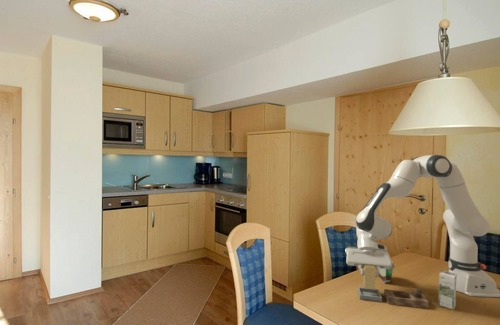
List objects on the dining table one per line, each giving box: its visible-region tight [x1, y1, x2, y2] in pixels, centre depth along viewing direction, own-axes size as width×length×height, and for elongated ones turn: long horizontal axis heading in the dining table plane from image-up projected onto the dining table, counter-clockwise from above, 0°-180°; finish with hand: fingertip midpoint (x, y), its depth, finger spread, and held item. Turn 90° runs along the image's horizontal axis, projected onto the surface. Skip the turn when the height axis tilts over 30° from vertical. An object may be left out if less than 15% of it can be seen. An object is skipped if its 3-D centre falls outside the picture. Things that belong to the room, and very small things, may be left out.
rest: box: [357, 286, 383, 303], centre depth 135 cm, size 9×8×2 cm
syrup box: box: [438, 270, 457, 311], centre depth 127 cm, size 6×6×14 cm
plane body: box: [383, 288, 429, 310], centre depth 130 cm, size 16×8×6 cm, turn 76°
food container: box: [377, 261, 395, 284], centre depth 153 cm, size 12×6×10 cm, turn 179°
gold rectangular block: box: [363, 264, 377, 290], centre depth 135 cm, size 4×4×10 cm
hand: (369, 275), depth 134 cm, fingers closed on gold rectangular block, 4 cm apart
